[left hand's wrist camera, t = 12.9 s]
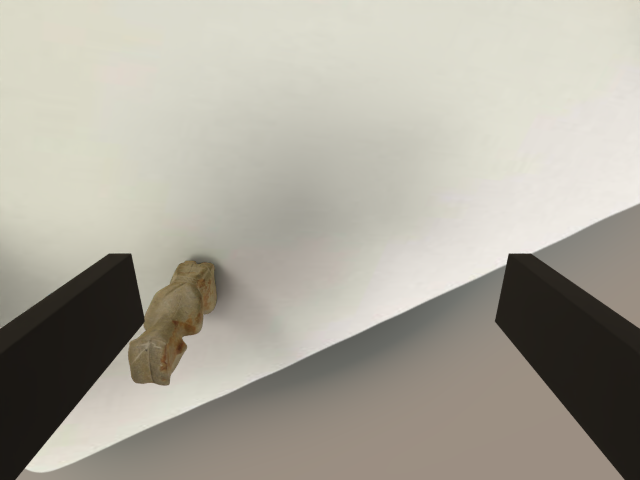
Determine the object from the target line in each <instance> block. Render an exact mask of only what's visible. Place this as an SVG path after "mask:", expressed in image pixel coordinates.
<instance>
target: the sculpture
mask: <svg viewBox="0 0 640 480" xmlns="http://www.w3.org/2000/svg"><path fill="white" fill-rule="evenodd" d="M214 270H215V268H214V265H213V264H212V263H207V262H203V263H201V264H197V263H196V262H195V261H185V262H184V263H181V264H179V266H178V267H177V269H176V271H175V273H174V275H173V277H172V279H171V282H170V285H168V286H166V287H165V288H163V289H161V290H159V291H158V292H157V293H156V294H155V296H154V297H153V299H152V301H151V304H150V306H149V308H148V310H147V312H146V314H145V317H144V319H145V322H144V323H143V324H144V328H145V330H146V331H145V332H144V333H143V334H142V335H141V336H140V337H138V338H137V339H135V340H133V341H131V342H130V343H129V345H130V346H129V351H128V359H129V364H130V370H131V377H132V379H133V381H134V382H135V383H141V384H145V383H155V384H158V385H169V384H170V376H171V374H172V372H173V371H174V370H175V368H176V366H177V365H178V363H179V361H180V359H181V357H182V355H183V353H184V352H185V351H186V349H187V345H186V344H185V343H184V341H183V340H182V337H183V336H188V335H194V334H197V333H199V332H200V330H201V328H202V324H203V314H208V313H210V312H212V311H213V309H214V308H215V305H216V301H217V294H216V285H215V280H214Z"/></svg>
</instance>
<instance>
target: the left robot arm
mask: <svg viewBox="0 0 640 480" xmlns="http://www.w3.org/2000/svg"><path fill="white" fill-rule="evenodd" d="M144 322H145V319H144V314H143V309H142V304H141V299H140V294H139V289H138V285H137V280H136V275H135V270H134V265H133V260H132V255H131V254H108V255H107V256H105V257H104V258H102V259H101V260H99V261H98V262H96V263H95V264H93V265H92V266H91V267H89V268H88V269H86V270H85V271H83V272H82V273H80V274H79V275H78V276H76V277H75V278H73V279H72V280H70V281H69V282H67V283H66V284H64V285H63V286H62V287H60V288H59V289H57V290H56V291H54V292H53V293H51V294H50V295H49V296H47V297H46V298H44V299H43V300H41V301H40V302H38V303H37V304H36V305H34V306H33V307H31V308H30V309H28V310H27V311H25V312H24V313H22V314H21V315H20V316H18V317H17V318H15V319H14V320H12V321H11V322H9V323H8V324H7V325H5V326H4V327H2V328H1V329H0V480H15V479H16V478H17V477H18V476H19V475H20V473H21V472H22V471H23V470H24V468H25V467H26V466H27V465H28V464H29V462H30V461H31V460H32V459H33V457H34V456H35V455H36V454H37V453H38V451H39V450H40V449H41V448H42V447H43V445H44V444H45V443H46V442H47V440H48V439H49V438H50V437H51V436H52V434H53V433H54V432H55V431H56V429H57V428H58V427H59V426H60V425H61V423H62V422H63V421H64V420H65V418H66V417H67V416H68V415H69V414H70V412H71V411H72V410H73V409H74V407H75V406H76V405H77V404H78V403H79V401H80V400H81V399H82V398H83V397H84V395H85V394H86V393H87V392H88V390H89V389H90V388H91V387H92V386H93V384H94V383H95V382H96V381H97V379H98V378H99V377H100V376H101V375H102V373H103V372H104V371H105V370H106V368H107V367H108V366H109V365H110V364H111V362H112V361H113V360H114V359H115V357H116V356H117V355H118V354H119V353H120V351H121V350H122V349H123V348H124V347H125V345H126V344H127V343H128V342H129V340H130V339H131V338H132V337H133V336H134V334H135V333H136V332H137V331H138V329H139V328H140V327H141V326H142V325H143V323H144ZM495 322H496V323H497V325H498V326H499V327H500V328H501V329H502V331H503V332H504V333H505V334H506V336H507V337H508V338H509V339H510V340H511V342H512V343H513V344H514V345H515V347H516V348H517V349H518V350H519V351H520V353H521V354H522V355H523V356H524V357H525V359H526V360H527V361H528V362H529V364H530V365H531V366H532V367H533V368H534V370H535V371H536V372H537V373H538V375H539V376H540V377H541V378H542V379H543V381H544V382H545V383H546V384H547V386H548V387H549V388H550V389H551V390H552V392H553V393H554V394H555V395H556V397H557V398H558V399H559V400H560V401H561V403H562V404H563V405H564V406H565V407H566V409H567V410H568V411H569V412H570V414H571V415H572V416H573V417H574V418H575V420H576V421H577V422H578V423H579V425H580V426H581V427H582V428H583V429H584V431H585V432H586V433H587V434H588V436H589V437H590V438H591V439H592V440H593V441H594V443H595V444H596V445H597V447H598V448H599V449H600V450H601V451H602V453H603V454H604V455H605V456H606V457H607V459H608V460H609V461H610V462H611V464H612V465H613V466H614V467H615V468H616V470H617V471H618V472H619V473H620V475H621V476H622V477H623V478H624V479H625V480H640V329H639V328H638V327H636V326H635V325H633V324H632V323H631V322H629V321H628V320H626V319H625V318H623V317H622V316H620V315H619V314H618V313H616V312H615V311H613V310H612V309H610V308H609V307H607V306H606V305H604V304H603V303H602V302H600V301H599V300H597V299H596V298H594V297H593V296H591V295H590V294H588V293H587V292H586V291H584V290H583V289H581V288H580V287H578V286H577V285H576V284H574V283H573V282H571V281H570V280H568V279H567V278H565V277H564V276H562V275H561V274H560V273H558V272H557V271H555V270H554V269H552V268H551V267H549V266H548V265H547V264H545V263H544V262H542V261H541V260H539V259H538V258H536V257H535V256H533V255H532V254H509V255H508V260H507V265H506V270H505V275H504V280H503V284H502V289H501V294H500V299H499V304H498V309H497V314H496V319H495Z"/></svg>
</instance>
